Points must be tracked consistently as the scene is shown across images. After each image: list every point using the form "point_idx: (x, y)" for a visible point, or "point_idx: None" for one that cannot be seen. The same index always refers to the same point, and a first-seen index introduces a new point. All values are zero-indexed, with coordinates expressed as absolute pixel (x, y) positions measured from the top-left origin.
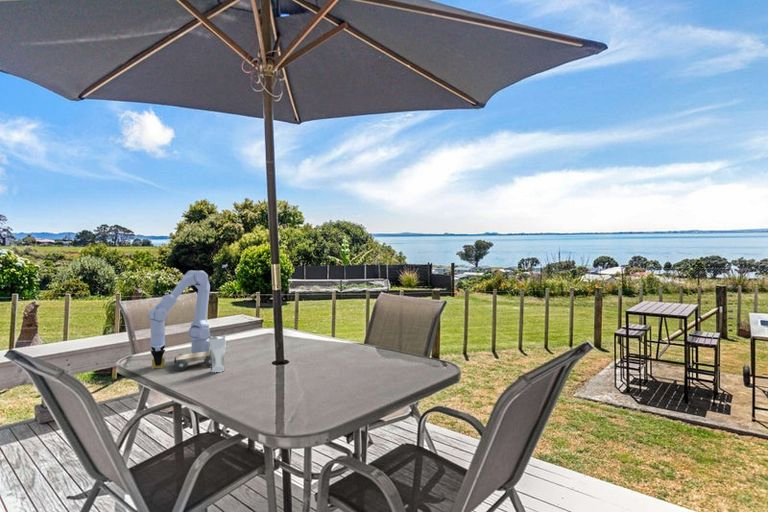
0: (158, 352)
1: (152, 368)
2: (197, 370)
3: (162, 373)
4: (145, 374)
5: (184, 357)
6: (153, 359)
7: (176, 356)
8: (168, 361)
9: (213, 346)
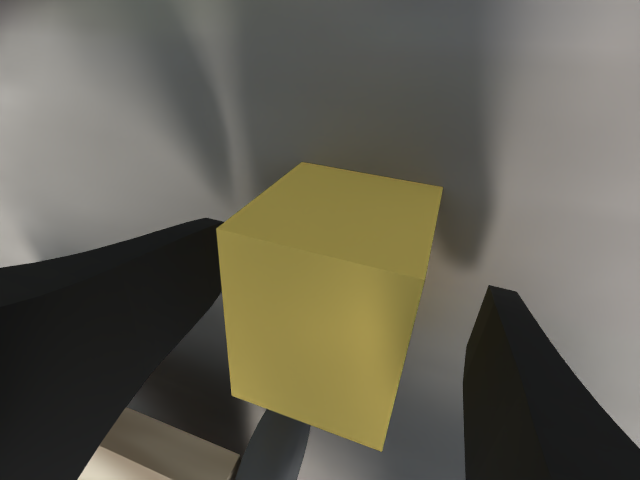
0: (2, 420)
1: (297, 169)
2: None
3: (73, 216)
4: (77, 47)
5: (84, 478)
6: (218, 253)
7: (155, 476)
8: (626, 432)
9: None
